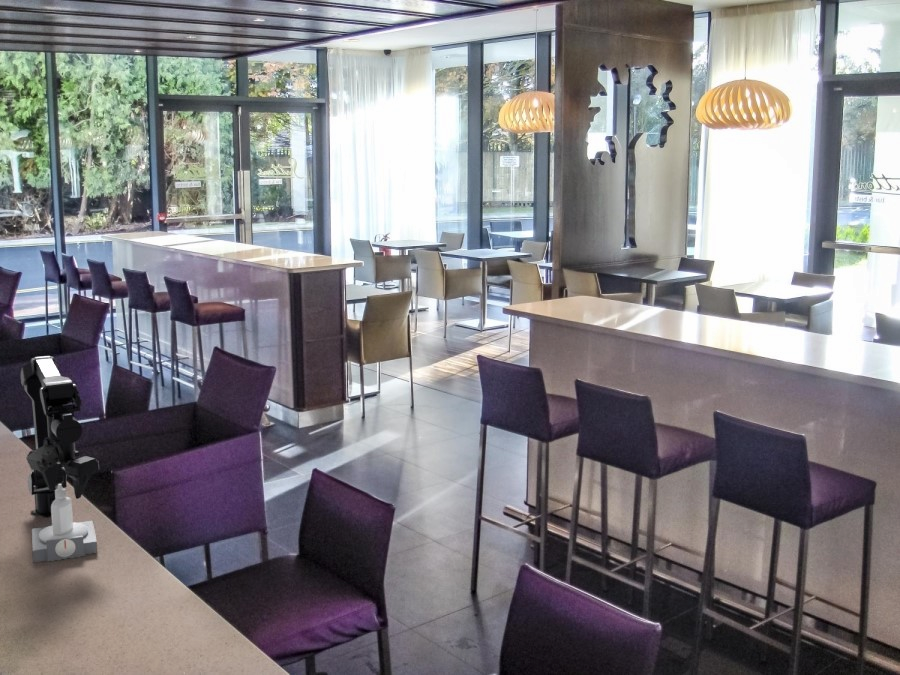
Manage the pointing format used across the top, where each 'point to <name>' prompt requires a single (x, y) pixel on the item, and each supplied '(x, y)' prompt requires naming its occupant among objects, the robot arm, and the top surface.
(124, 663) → the top surface
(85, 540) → the dial scale
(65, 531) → the eye dropper bottle
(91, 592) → the top surface
